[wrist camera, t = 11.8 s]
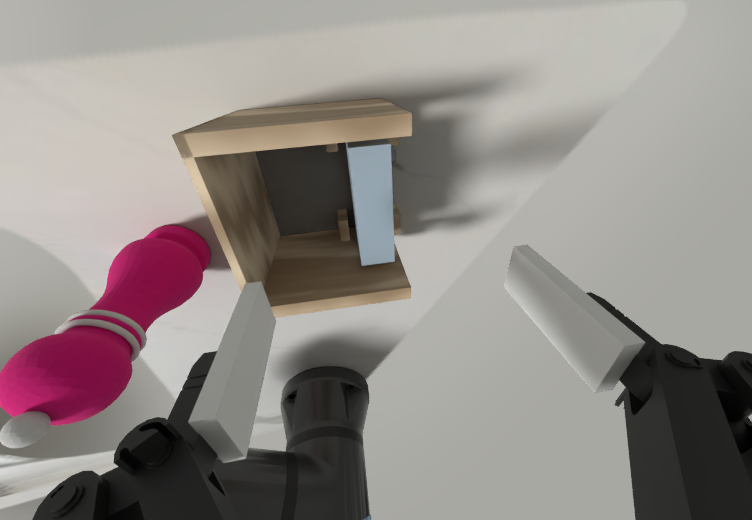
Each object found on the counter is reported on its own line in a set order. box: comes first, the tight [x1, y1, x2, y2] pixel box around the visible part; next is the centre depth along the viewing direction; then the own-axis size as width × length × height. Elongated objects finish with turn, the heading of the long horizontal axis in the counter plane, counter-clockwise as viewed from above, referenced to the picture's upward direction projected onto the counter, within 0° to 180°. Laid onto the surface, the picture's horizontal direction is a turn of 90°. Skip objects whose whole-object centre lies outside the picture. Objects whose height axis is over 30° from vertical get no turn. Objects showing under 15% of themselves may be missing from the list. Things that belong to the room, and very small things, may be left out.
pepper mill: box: [0, 225, 211, 448], centre depth 23 cm, size 7×7×20 cm
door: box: [345, 138, 396, 266], centre depth 26 cm, size 10×4×9 cm, turn 4°
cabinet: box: [172, 98, 412, 318], centre depth 24 cm, size 15×14×12 cm
